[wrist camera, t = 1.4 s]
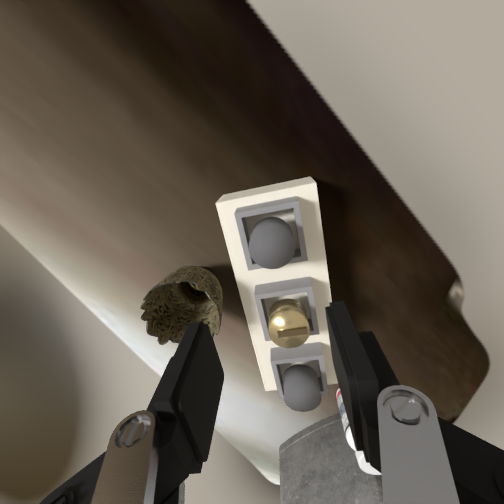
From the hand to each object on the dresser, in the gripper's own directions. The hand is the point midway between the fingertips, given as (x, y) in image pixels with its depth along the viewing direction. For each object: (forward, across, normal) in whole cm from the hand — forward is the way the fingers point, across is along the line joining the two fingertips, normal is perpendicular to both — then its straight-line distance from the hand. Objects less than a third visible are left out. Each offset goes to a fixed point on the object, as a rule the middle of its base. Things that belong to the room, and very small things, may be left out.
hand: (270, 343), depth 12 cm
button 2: (+13, 0, 0) cm, 13 cm away
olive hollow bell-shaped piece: (+20, +10, +6) cm, 22 cm away
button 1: (+13, 0, +16) cm, 21 cm away
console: (+19, 0, +8) cm, 21 cm away
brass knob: (+13, 0, +8) cm, 16 cm away
